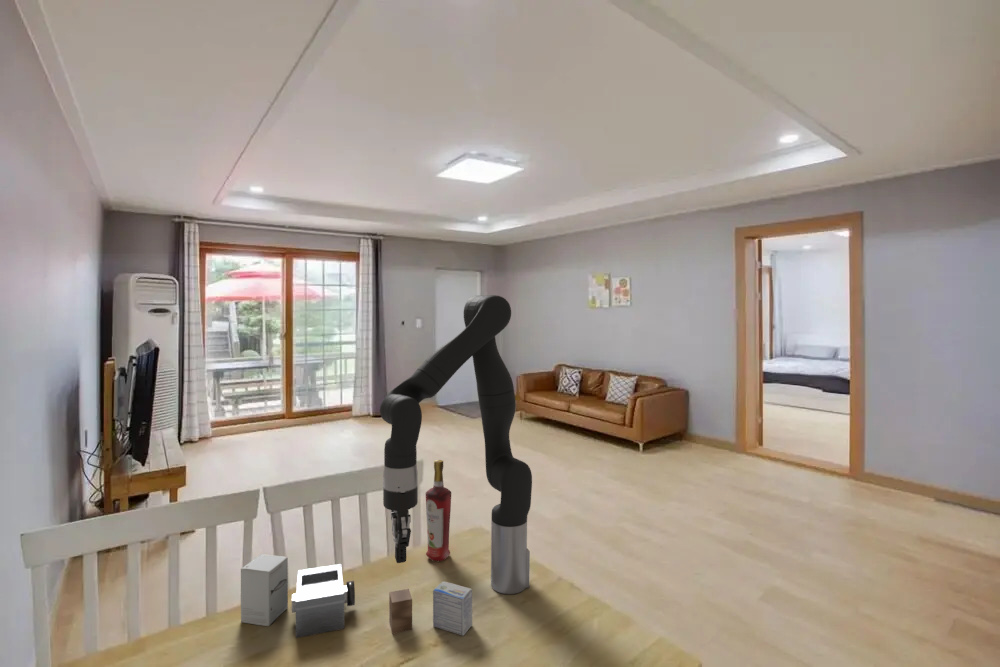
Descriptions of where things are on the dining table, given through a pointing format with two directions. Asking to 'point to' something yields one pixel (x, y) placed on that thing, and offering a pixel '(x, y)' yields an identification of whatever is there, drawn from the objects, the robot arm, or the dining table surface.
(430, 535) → the liquor
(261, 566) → the supplement box
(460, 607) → the medicine box
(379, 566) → the dining table surface
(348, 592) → the shaft
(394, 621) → the block
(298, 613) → the grey hollow block
